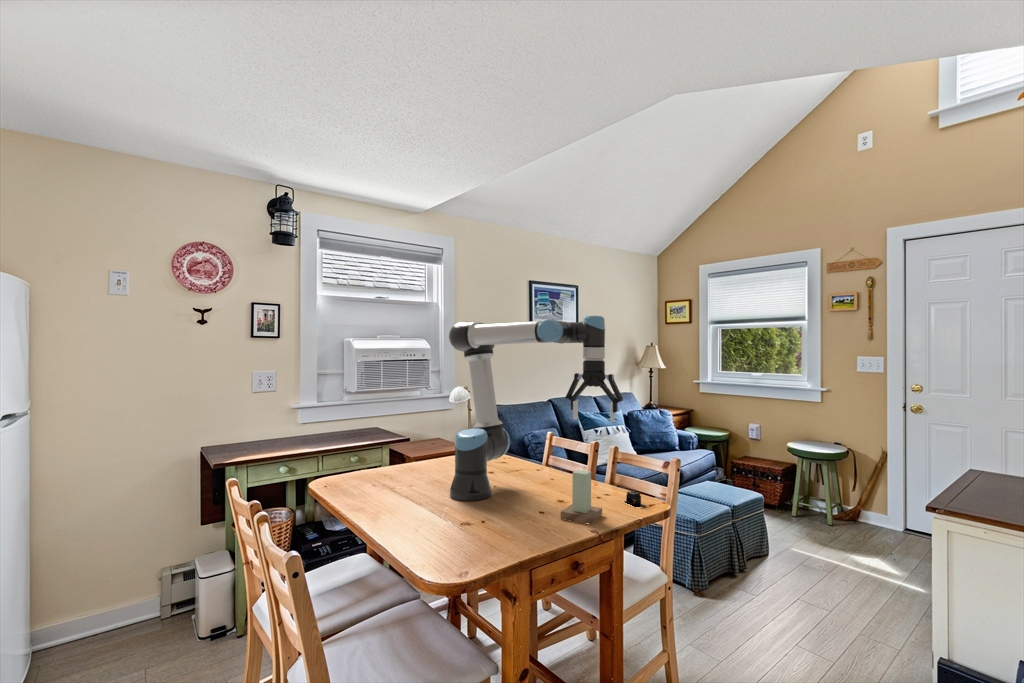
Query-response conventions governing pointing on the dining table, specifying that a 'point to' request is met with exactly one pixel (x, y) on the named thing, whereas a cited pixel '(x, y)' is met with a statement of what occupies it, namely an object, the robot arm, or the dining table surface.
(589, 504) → the pillar
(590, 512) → the slab
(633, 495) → the black boxy device
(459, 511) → the dining table surface
